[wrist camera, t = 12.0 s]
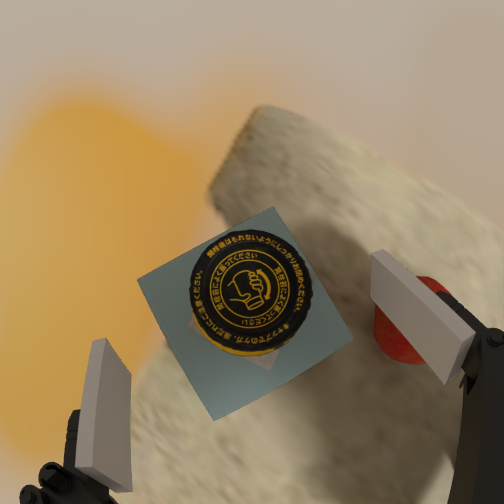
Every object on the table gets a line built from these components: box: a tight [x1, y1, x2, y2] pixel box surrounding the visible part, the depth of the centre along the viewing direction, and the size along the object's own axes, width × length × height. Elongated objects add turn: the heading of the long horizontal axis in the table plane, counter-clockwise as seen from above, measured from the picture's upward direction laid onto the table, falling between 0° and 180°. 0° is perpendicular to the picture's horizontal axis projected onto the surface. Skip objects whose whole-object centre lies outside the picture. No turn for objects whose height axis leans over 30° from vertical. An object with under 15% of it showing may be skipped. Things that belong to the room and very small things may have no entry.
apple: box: [374, 276, 451, 365], centre depth 27 cm, size 9×8×11 cm
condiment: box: [186, 229, 317, 371], centre depth 19 cm, size 7×8×12 cm
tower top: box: [137, 207, 354, 421], centre depth 26 cm, size 13×13×4 cm
